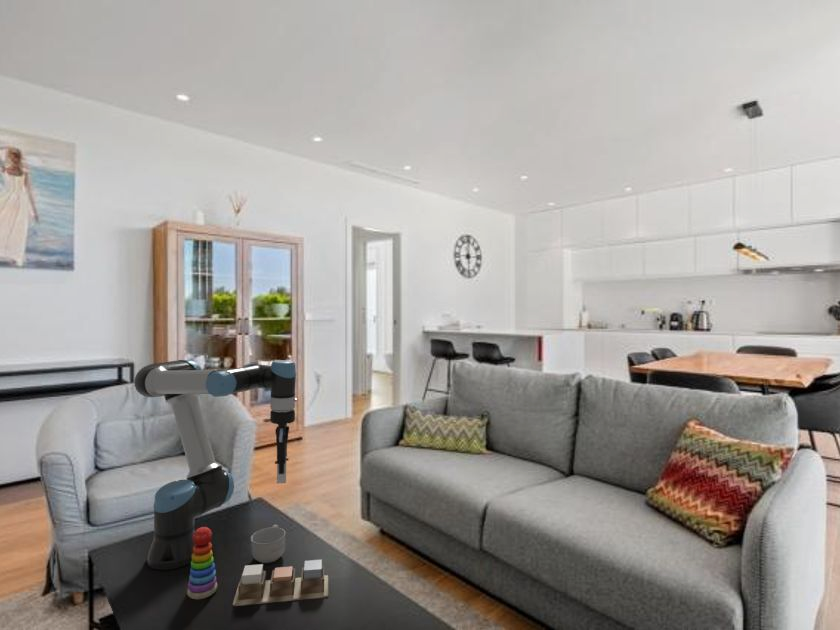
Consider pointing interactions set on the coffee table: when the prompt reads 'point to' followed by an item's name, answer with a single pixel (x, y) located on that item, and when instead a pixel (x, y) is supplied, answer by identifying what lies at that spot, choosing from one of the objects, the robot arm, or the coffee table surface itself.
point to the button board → (281, 590)
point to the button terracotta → (283, 574)
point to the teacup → (268, 544)
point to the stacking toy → (202, 566)
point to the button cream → (252, 574)
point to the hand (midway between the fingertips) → (281, 482)
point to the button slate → (313, 569)
